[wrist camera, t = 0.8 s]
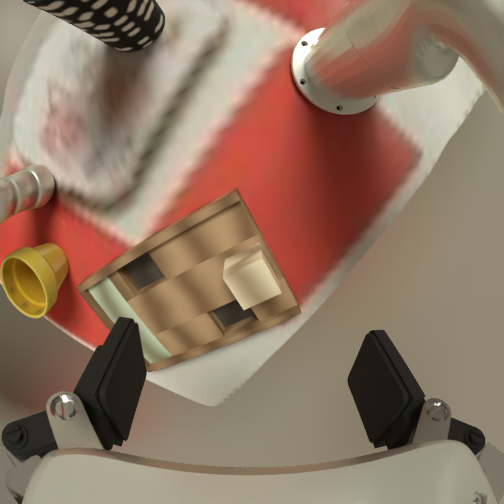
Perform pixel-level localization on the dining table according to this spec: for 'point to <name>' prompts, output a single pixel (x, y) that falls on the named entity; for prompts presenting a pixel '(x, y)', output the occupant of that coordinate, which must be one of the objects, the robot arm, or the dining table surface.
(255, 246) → the block
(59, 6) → the spotted tube
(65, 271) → the plant pot
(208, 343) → the box
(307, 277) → the dining table surface
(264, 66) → the dining table surface
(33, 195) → the plastic bottle
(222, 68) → the dining table surface
